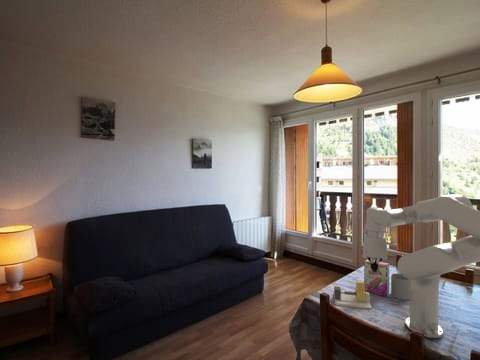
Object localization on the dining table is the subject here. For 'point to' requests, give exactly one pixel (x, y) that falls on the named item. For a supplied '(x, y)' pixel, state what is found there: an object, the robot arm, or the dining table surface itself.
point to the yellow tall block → (360, 291)
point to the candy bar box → (377, 278)
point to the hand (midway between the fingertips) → (374, 270)
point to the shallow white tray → (350, 299)
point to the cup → (400, 287)
